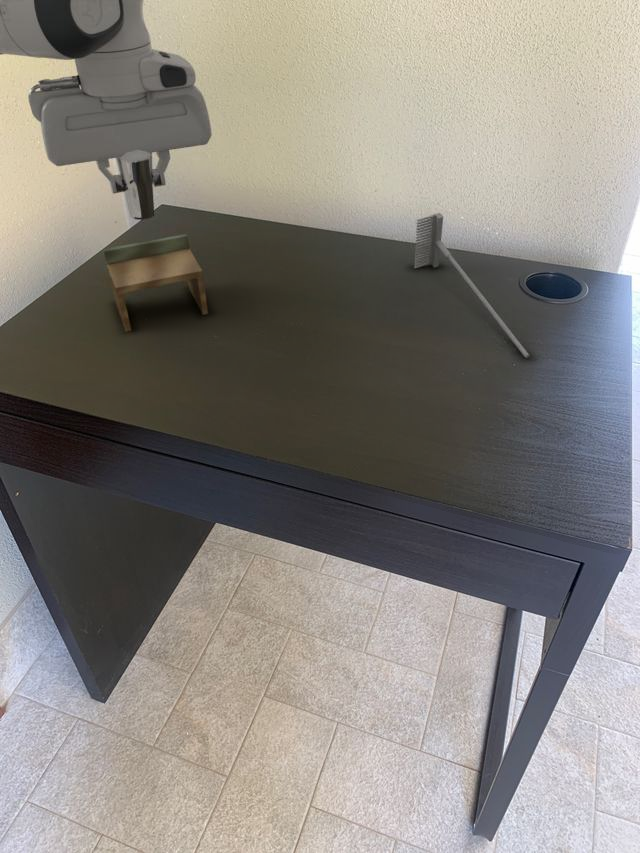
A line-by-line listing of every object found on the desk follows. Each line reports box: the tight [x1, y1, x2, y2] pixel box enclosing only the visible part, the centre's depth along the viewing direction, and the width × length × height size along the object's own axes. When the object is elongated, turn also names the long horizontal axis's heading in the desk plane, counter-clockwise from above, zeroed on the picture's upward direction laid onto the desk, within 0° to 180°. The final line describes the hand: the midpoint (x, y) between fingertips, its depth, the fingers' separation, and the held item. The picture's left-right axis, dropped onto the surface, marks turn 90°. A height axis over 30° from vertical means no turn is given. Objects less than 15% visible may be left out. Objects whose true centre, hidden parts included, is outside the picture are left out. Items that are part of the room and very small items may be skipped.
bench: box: [102, 233, 209, 333], centre depth 98 cm, size 12×8×9 cm, turn 112°
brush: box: [413, 212, 531, 359], centre depth 98 cm, size 4×28×9 cm, turn 19°
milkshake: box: [115, 150, 155, 221], centre depth 88 cm, size 4×5×10 cm
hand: (139, 187), depth 89 cm, fingers closed on milkshake, 4 cm apart
